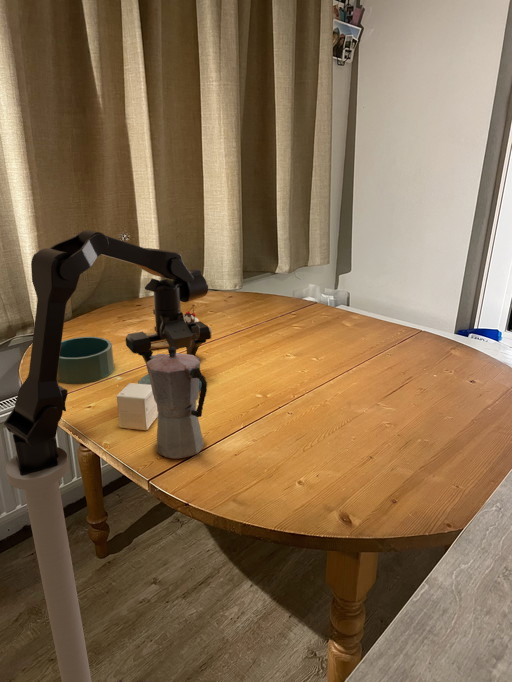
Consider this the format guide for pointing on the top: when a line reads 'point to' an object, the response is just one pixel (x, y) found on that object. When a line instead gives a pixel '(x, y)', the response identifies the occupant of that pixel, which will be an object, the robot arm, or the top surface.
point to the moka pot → (177, 402)
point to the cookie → (158, 345)
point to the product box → (136, 406)
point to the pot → (85, 360)
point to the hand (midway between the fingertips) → (171, 370)
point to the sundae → (190, 319)
